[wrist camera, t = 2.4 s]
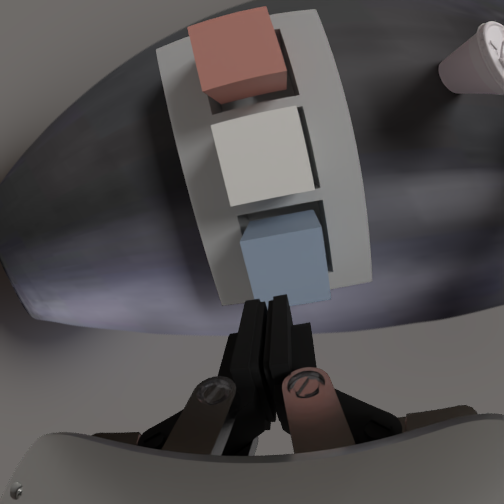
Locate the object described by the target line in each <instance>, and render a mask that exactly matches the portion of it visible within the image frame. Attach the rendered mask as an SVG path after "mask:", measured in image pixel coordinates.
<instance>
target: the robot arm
mask: <svg viewBox="0 0 504 504" xmlns="http://www.w3.org/2000/svg"><path fill="white" fill-rule="evenodd" d="M276 412H277V415H278V418H279V421H280V422H281V425H282V428H283V430H284V431H286V432H287V433H289V434H290V435H291V439H292V444H293V449H294V454H286V455H285V454H284V455H268V456H254V454H255V451H256V448H257V445H258V436H259V435H260V434H261V433H262V432H264V430H270V424H271V422H275V420H276ZM0 504H504V415H502V414H492V413H491V414H489V413H487V414H477V412H476V411H475V410H474V409H473V408H472V407H470V406H467V405H458V406H454V407H448V408H443V409H437V410H431V411H424V412H417V413H409V414H406V417H398V418H397V417H396V416H394V415H392V414H391V413H388V412H386V411H383V410H381V409H378V408H376V407H374V406H372V405H369V404H367V403H365V402H363V401H360V400H358V399H356V398H354V397H351V396H349V395H347V394H345V393H343V392H340V391H339V390H336V389H334V387H333V384H332V382H331V380H330V377H329V376H328V374H327V373H326V372H325V371H323V370H321V369H318V368H316V361H315V354H314V345H313V338H312V331H311V325H310V323H304V324H298V325H293V322H292V317H291V311H290V306H289V301H288V296H287V294H285V295H279V296H273V300H270V301H269V302H268V311H267V306H266V303H265V301H264V302H261V301H260V299H254V300H247V301H245V305H244V309H243V313H242V318H241V322H240V326H239V331H238V333H233V334H230V335H229V337H228V341H227V344H226V348H225V351H224V355H223V359H222V362H221V366H220V370H219V374H218V376H217V377H212V378H208V379H206V380H204V381H202V382H201V383H200V384H198V385H197V387H196V388H195V389H194V391H193V393H192V395H191V397H190V398H189V400H188V402H187V404H186V406H185V407H184V409H183V410H182V411H180V412H178V413H177V414H175V415H173V416H171V417H170V418H168V419H166V420H164V421H163V422H161V423H159V424H157V425H155V426H154V427H152V428H150V429H148V430H147V431H145V432H144V433H143V434H142V435H141V434H140V433H139V432H129V433H128V432H127V433H96V434H94V435H86V434H79V433H70V432H59V433H50V434H46V435H43V436H41V437H39V438H38V439H37V440H36V441H35V442H34V443H33V444H32V446H31V447H30V448H29V450H28V451H27V452H26V454H25V455H24V457H23V458H22V460H21V461H20V463H19V465H18V466H17V468H16V470H15V472H14V473H13V475H12V477H11V479H10V481H9V482H8V484H7V486H6V488H5V490H4V492H3V494H2V497H1V499H0Z"/></svg>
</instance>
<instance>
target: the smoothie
mask: <svg viewBox="0 0 504 504" xmlns="http://www.w3.org/2000/svg"><path fill="white" fill-rule="evenodd" d="M438 70H439V76H440V78H441V80H442V82H443V84H444V85H445V86H446V87H447V88H448V89H449V90H450V91H452V92H454V93H457V94H465V93H472V94H500V95H504V26H503V25H501V24H499V23H497V22H493V21H490V22H487V23H483V24H482V25H480V26H479V27H478V30H477V33H476V34H475V35H474V36H472V37H471V38H470V39H469V40H468V41H466V42H465V43H464V44H463V45H461V46H460V47H459V48H458V49H456V50H455V51H454V52H453V53H452V54H450V55H449V56H448V57H447V58H445V59H444V60H443V61H442V62H441V63H440V64H439V69H438Z"/></svg>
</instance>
